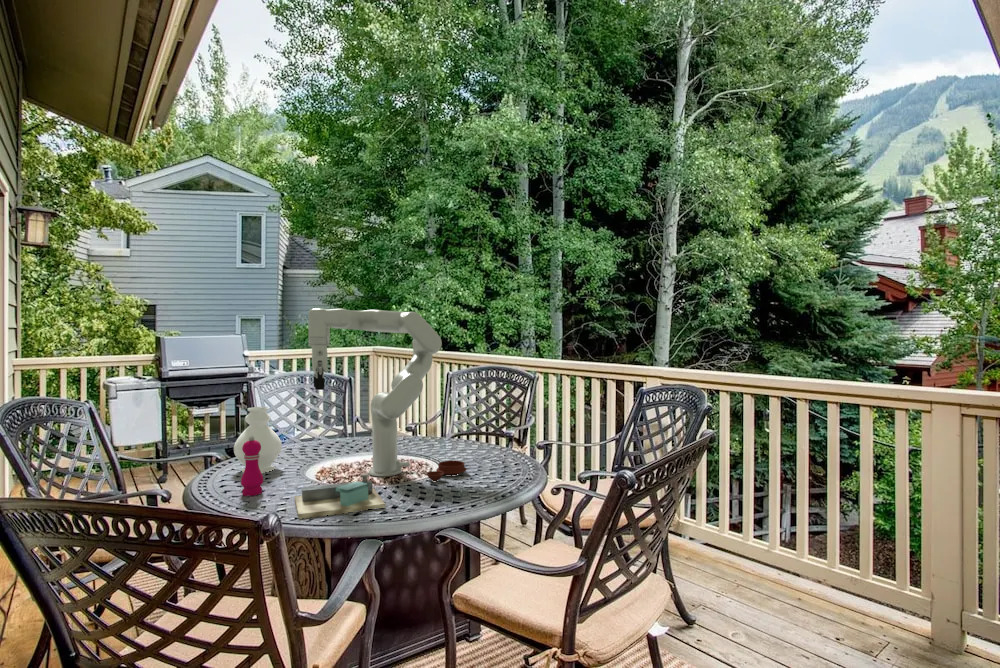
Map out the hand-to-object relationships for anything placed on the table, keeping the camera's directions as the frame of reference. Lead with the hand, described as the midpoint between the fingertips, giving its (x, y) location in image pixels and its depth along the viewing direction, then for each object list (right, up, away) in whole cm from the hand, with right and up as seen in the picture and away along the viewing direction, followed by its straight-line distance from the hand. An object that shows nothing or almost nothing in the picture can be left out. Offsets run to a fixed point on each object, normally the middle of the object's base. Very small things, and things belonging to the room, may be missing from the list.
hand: (318, 388), depth 220 cm
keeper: (+20, -34, -30) cm, 49 cm away
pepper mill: (-19, -35, -15) cm, 42 cm away
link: (+14, -33, -24) cm, 43 cm away
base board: (+15, -35, -28) cm, 47 cm away
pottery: (+46, -35, +6) cm, 58 cm away
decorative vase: (-30, -35, +18) cm, 50 cm away
